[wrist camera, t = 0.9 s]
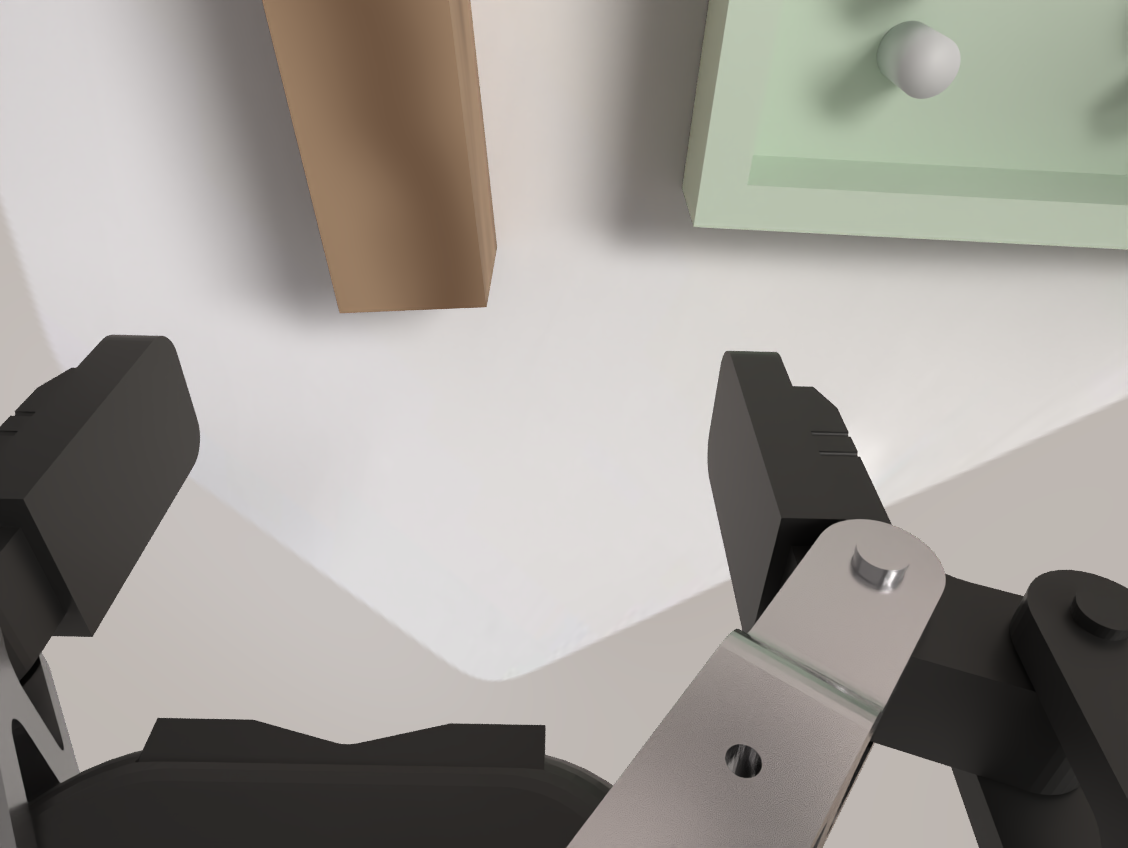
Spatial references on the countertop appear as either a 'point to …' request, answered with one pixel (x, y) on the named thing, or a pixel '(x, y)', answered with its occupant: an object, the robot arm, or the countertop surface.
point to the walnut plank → (391, 147)
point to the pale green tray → (914, 120)
